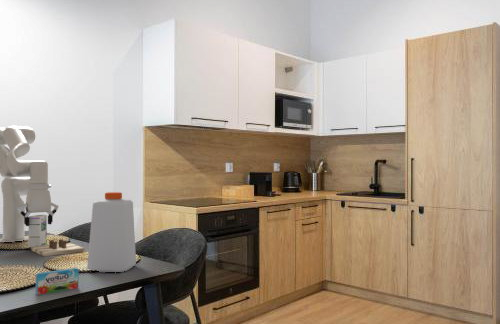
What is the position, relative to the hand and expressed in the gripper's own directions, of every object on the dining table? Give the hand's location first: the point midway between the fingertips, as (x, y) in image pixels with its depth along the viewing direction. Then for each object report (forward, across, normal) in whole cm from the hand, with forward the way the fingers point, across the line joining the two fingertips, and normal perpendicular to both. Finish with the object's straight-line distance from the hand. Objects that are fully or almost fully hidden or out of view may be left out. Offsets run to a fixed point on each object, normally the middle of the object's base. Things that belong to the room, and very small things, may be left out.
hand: (38, 225), depth 204 cm
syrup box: (+10, 0, -1) cm, 10 cm away
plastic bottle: (+12, -8, +60) cm, 62 cm away
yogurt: (+13, +18, +78) cm, 81 cm away
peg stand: (+11, -4, +14) cm, 18 cm away
